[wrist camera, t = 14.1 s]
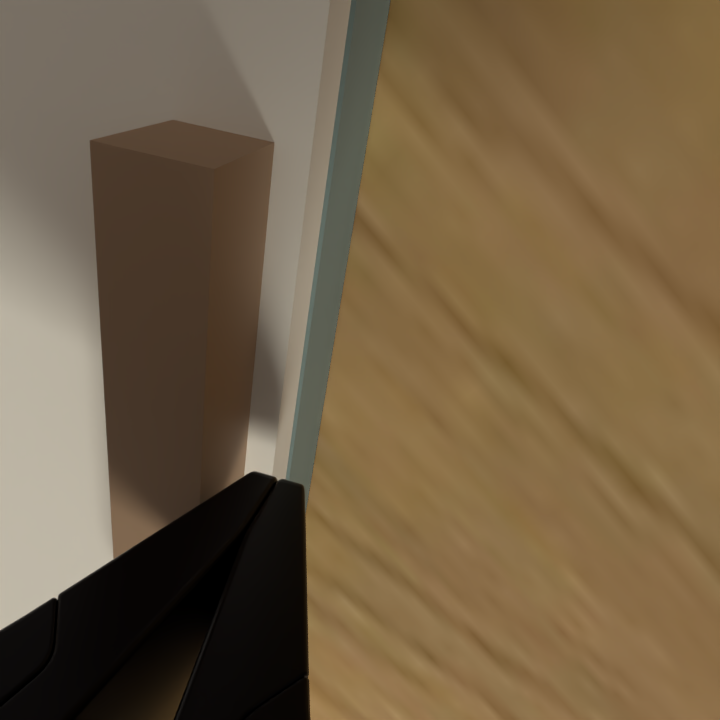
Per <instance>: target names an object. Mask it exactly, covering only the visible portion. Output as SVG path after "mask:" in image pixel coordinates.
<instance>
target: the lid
mask: <svg viewBox="0 0 720 720" xmlns="http://www.w3.org/2000/svg"><path fill="white" fill-rule="evenodd" d="M350 6H351V0H0V630H1V629H3V628H5V627H6V626H8V625H10V624H11V623H13V622H15V621H16V620H18V619H19V618H21V617H23V616H24V615H26V614H28V613H29V612H31V611H32V610H34V609H36V608H37V607H39V606H40V605H42V604H43V603H45V602H47V601H48V600H50V599H51V598H57V600H58V595H59V594H60V593H61V592H63V591H64V590H66V589H67V588H69V587H71V586H72V585H74V584H75V583H77V582H78V581H80V580H82V579H83V578H85V577H86V576H88V575H89V574H91V573H93V572H94V571H96V570H97V569H99V568H100V567H102V566H104V565H105V564H107V563H108V562H110V561H111V560H113V559H115V558H116V557H118V556H119V555H121V554H122V553H124V552H126V551H127V550H129V549H130V548H132V547H133V546H135V545H136V544H138V543H140V542H141V541H143V540H144V539H146V538H147V537H149V536H151V535H152V534H154V533H155V532H157V531H158V530H160V529H162V528H163V527H165V526H166V525H168V524H169V523H171V522H173V521H174V520H176V519H177V518H179V517H180V516H182V515H184V514H185V513H187V512H188V511H190V510H191V509H193V508H195V507H196V506H198V505H199V504H201V503H202V502H204V501H206V500H207V499H209V498H210V497H212V496H213V495H215V494H217V493H218V492H220V491H221V490H223V489H224V488H226V487H228V486H229V485H231V484H232V483H234V482H235V481H237V480H239V479H240V478H242V477H243V476H245V475H246V474H248V473H250V472H253V471H257V472H261V473H264V474H268V475H271V476H274V477H276V478H277V480H280V479H286V472H287V465H288V458H289V450H290V443H291V436H292V428H293V421H294V414H295V407H296V399H297V392H298V385H299V377H300V370H301V363H302V356H303V348H304V341H305V334H306V326H307V319H308V312H309V305H310V297H311V290H312V283H313V276H314V268H315V261H316V254H317V246H318V239H319V232H320V225H321V217H322V210H323V203H324V195H325V188H326V181H327V174H328V166H329V159H330V152H331V144H332V137H333V130H334V123H335V115H336V108H337V101H338V94H339V86H340V79H341V72H342V64H343V57H344V50H345V43H346V35H347V28H348V21H349V13H350Z"/></svg>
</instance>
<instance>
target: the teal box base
mask: <svg viewBox="0 0 720 720" xmlns="http://www.w3.org/2000/svg"><path fill="white" fill-rule="evenodd" d="M389 6H390V0H351V6H350V13H349V21H348V28H347V35H346V43H345V50H344V57H343V64H342V72H341V79H340V86H339V94H338V101H337V108H336V115H335V123H334V130H333V137H332V144H331V152H330V159H329V166H328V174H327V181H326V188H325V195H324V203H323V210H322V217H321V225H320V232H319V239H318V246H317V254H316V261H315V268H314V276H313V283H312V290H311V297H310V305H309V312H308V319H307V326H306V334H305V341H304V348H303V356H302V363H301V370H300V377H299V385H298V392H297V399H296V407H295V414H294V421H293V428H292V436H291V443H290V450H289V458H288V465H287V472H286V480H289V481H293V482H296V483H300V484H302V485H303V486H304V488H305V513H306V507H307V501H308V495H309V489H310V483H311V477H312V471H313V465H314V459H315V453H316V447H317V441H318V435H319V429H320V423H321V417H322V411H323V405H324V399H325V393H326V387H327V381H328V375H329V369H330V362H331V356H332V350H333V344H334V338H335V332H336V326H337V320H338V314H339V308H340V302H341V296H342V290H343V284H344V278H345V272H346V266H347V260H348V254H349V248H350V242H351V236H352V230H353V224H354V218H355V212H356V205H357V199H358V193H359V187H360V181H361V175H362V169H363V163H364V157H365V151H366V145H367V139H368V133H369V127H370V121H371V115H372V109H373V103H374V97H375V91H376V85H377V79H378V73H379V67H380V61H381V55H382V48H383V42H384V36H385V30H386V24H387V18H388V12H389Z"/></svg>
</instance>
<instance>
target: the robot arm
mask: <svg viewBox="0 0 720 720" xmlns="http://www.w3.org/2000/svg"><path fill="white" fill-rule="evenodd" d="M308 675H309V662H308V616H307V569H306V523H305V488H304V486H303V485H302V484H300V483H296V482H293V481H289V480H286V479H280V480H277V478H276V477H274V476H271V475H268V474H264V473H261V472H257V471H253V472H250V473H248V474H246V475H245V476H243V477H242V478H240V479H239V480H237V481H235V482H234V483H232V484H231V485H229V486H228V487H226V488H224V489H223V490H221V491H220V492H218V493H217V494H215V495H213V496H212V497H210V498H209V499H207V500H206V501H204V502H202V503H201V504H199V505H198V506H196V507H195V508H193V509H191V510H190V511H188V512H187V513H185V514H184V515H182V516H180V517H179V518H177V519H176V520H174V521H173V522H171V523H169V524H168V525H166V526H165V527H163V528H162V529H160V530H158V531H157V532H155V533H154V534H152V535H151V536H149V537H147V538H146V539H144V540H143V541H141V542H140V543H138V544H136V545H135V546H133V547H132V548H130V549H129V550H127V551H126V552H124V553H122V554H121V555H119V556H118V557H116V558H115V559H113V560H111V561H110V562H108V563H107V564H105V565H104V566H102V567H100V568H99V569H97V570H96V571H94V572H93V573H91V574H89V575H88V576H86V577H85V578H83V579H82V580H80V581H78V582H77V583H75V584H74V585H72V586H71V587H69V588H67V589H66V590H64V591H63V592H61V593H60V594H59V595H58V600H57V598H51V599H50V600H48V601H47V602H45V603H43V604H42V605H40V606H39V607H37V608H36V609H34V610H32V611H31V612H29V613H28V614H26V615H24V616H23V617H21V618H19V619H18V620H16V621H15V622H13V623H11V624H10V625H8V626H6V627H5V628H3V629H1V630H0V720H310V697H309V679H308Z"/></svg>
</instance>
